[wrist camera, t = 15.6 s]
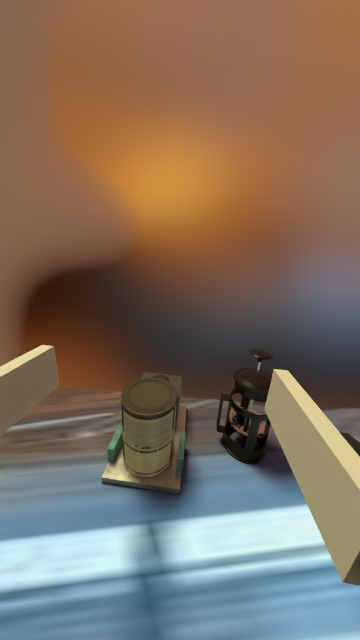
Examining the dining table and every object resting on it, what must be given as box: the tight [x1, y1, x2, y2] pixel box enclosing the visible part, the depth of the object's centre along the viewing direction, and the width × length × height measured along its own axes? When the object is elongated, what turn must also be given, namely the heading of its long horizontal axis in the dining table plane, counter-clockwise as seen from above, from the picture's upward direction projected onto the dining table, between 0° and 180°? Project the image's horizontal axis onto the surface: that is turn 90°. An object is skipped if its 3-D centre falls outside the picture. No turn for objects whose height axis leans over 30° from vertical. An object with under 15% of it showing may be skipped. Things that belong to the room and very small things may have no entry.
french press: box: [217, 349, 273, 464], centre depth 41 cm, size 12×9×23 cm
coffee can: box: [121, 378, 178, 478], centre depth 37 cm, size 10×10×14 cm
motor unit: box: [102, 372, 187, 494], centre depth 43 cm, size 14×21×11 cm
